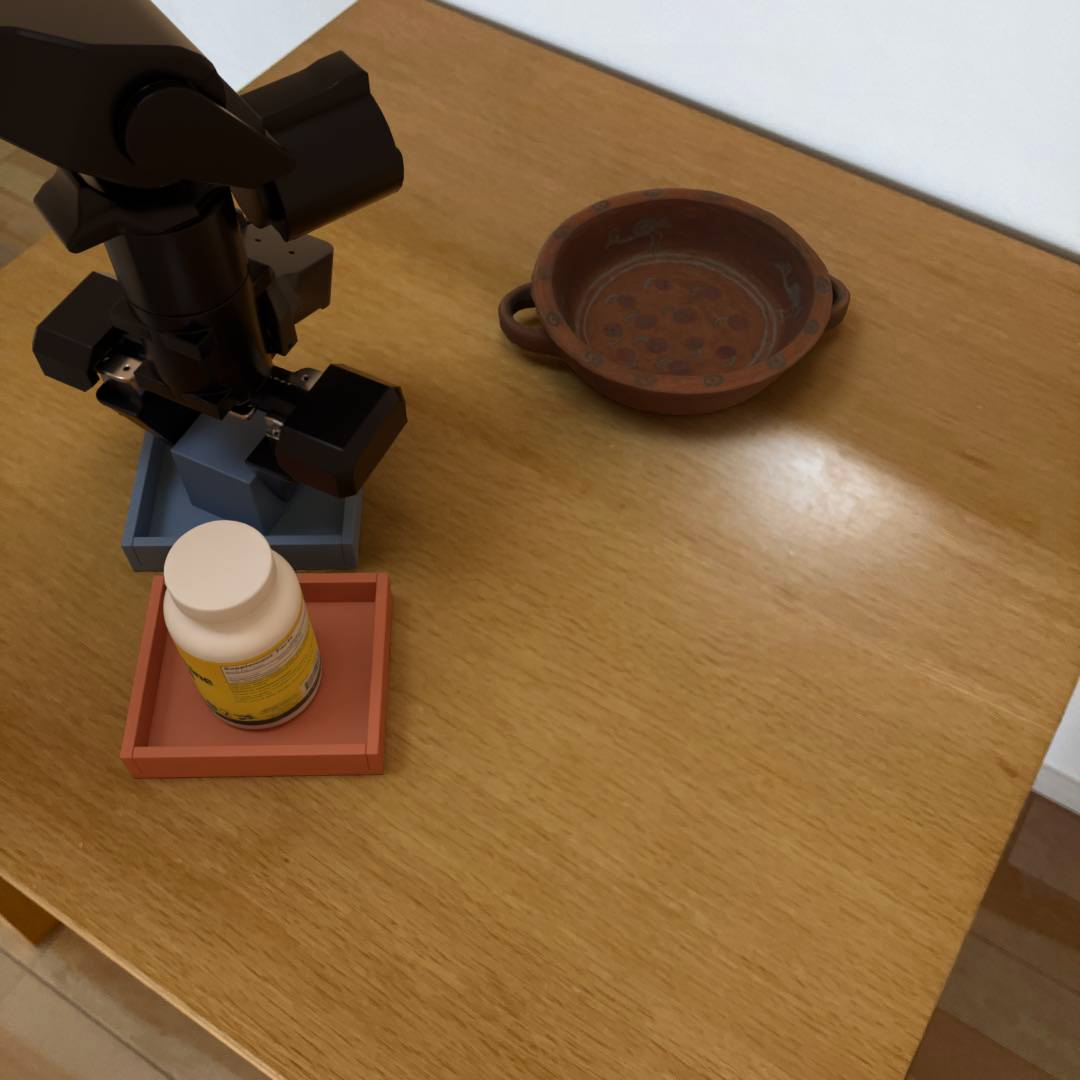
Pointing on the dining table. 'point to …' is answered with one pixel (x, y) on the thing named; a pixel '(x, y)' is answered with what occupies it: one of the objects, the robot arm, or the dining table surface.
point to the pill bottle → (241, 625)
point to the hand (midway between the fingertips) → (249, 478)
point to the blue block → (227, 471)
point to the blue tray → (167, 514)
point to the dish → (676, 299)
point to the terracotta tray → (292, 747)
